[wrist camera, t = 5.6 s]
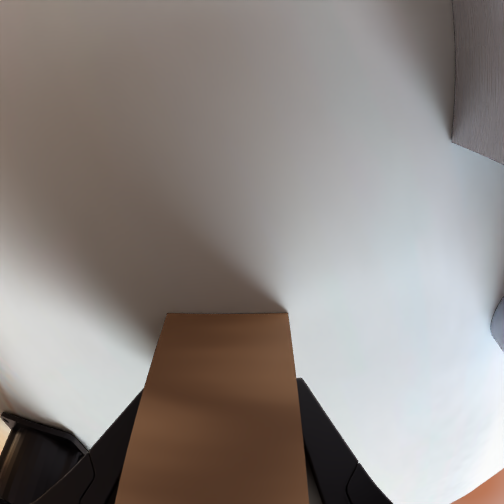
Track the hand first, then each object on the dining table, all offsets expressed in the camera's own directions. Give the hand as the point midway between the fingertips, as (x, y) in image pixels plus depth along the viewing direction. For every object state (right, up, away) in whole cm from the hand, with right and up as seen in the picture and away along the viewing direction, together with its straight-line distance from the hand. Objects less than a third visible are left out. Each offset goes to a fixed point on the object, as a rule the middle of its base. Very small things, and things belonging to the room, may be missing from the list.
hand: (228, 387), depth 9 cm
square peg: (0, +1, +1) cm, 1 cm away
